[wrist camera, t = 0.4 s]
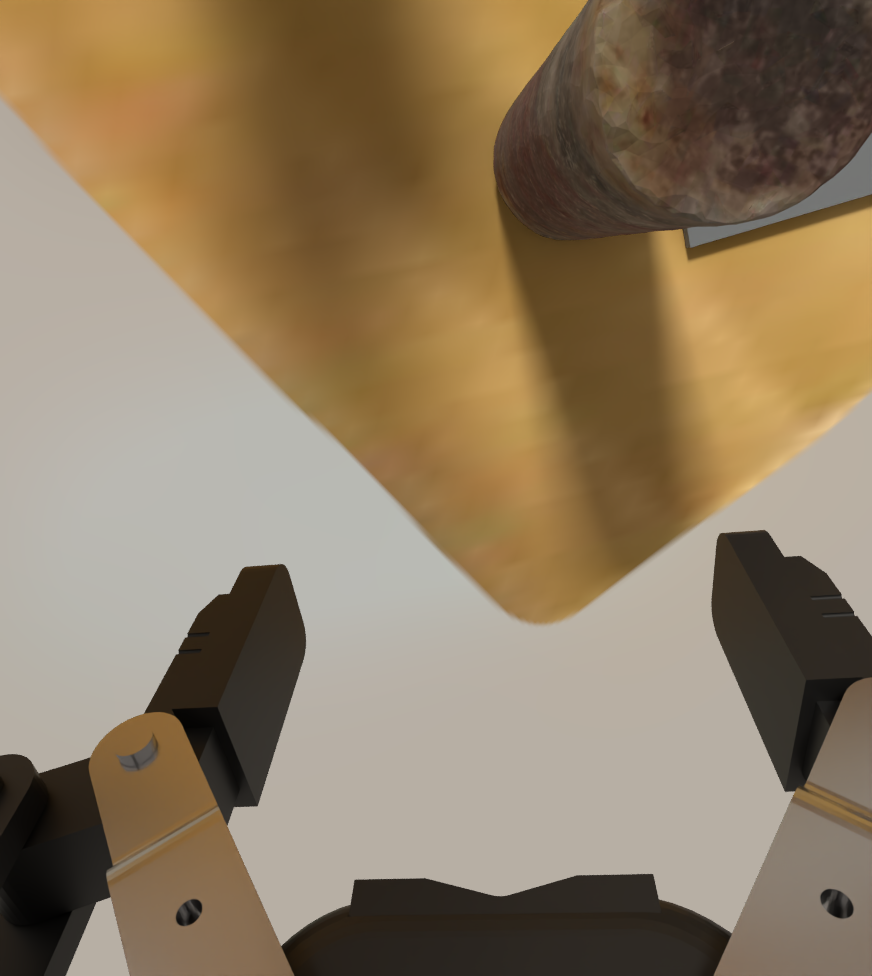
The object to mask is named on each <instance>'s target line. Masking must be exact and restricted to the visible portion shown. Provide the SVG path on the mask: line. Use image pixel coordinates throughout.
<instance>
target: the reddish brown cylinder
mask: <svg viewBox="0 0 872 976" xmlns="http://www.w3.org/2000/svg"><path fill="white" fill-rule="evenodd" d="M871 133H872V0H588V2H587V3H586V5H585V6H584V8H583V9H582V11H581V12H580V13H579V15H578V16H577V17H576V19H575V20H574V21H573V23H572V24H571V25H570V27H569V28H568V29H567V31H566V32H565V33H564V35H563V36H562V38H561V39H560V41H559V42H558V43H557V45H556V46H555V47H554V49H553V50H552V52H551V53H550V55H549V56H548V58H547V59H546V60H545V62H544V63H543V64H542V65H541V67H540V68H539V70H538V71H537V72H536V73H535V75H534V76H533V77H532V78H531V80H530V81H529V82H528V83H527V85H526V86H525V88H524V89H523V90H522V92H521V93H520V95H519V96H518V97H517V99H516V100H515V102H514V103H513V105H512V106H511V108H510V109H509V111H508V112H507V114H506V116H505V118H504V120H503V122H502V124H501V126H500V129H499V131H498V134H497V138H496V141H495V145H494V174H495V178H496V181H497V185H498V189H499V192H500V194H501V196H502V198H503V200H504V202H505V203H506V204H507V206H508V207H509V209H510V210H511V211H512V213H513V214H514V215H515V216H516V217H517V218H518V219H519V220H520V221H521V222H522V223H523V224H524V225H525V226H527V227H528V228H530V229H531V230H532V231H534V232H535V233H537V234H539V235H541V236H543V237H547V238H552V239H555V240H583V239H593V238H602V237H608V236H616V235H628V234H636V233H646V232H651V231H664V230H677V229H684V228H691V227H717V226H725V225H737V224H741V223H745V222H750V221H754V220H759V219H763V218H767V217H771V216H774V215H776V214H778V213H780V212H782V211H784V210H786V209H788V208H790V207H792V206H794V205H796V204H798V203H800V202H801V201H803V200H804V199H806V198H807V197H809V196H810V195H812V194H813V193H814V192H815V191H816V190H818V189H819V188H820V187H821V186H822V185H823V184H825V183H826V182H828V181H829V180H830V179H832V178H833V177H834V176H835V175H837V174H838V173H839V172H840V171H841V170H842V169H843V168H844V167H845V166H846V165H848V163H849V162H850V161H851V160H852V159H853V158H854V157H855V156H856V154H857V153H858V151H859V149H860V148H861V147H862V145H863V144H864V143H865V141H866V140H867V139H868V137H869V136H870V134H871Z"/></svg>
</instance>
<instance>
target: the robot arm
mask: <svg viewBox="0 0 872 976" xmlns="http://www.w3.org/2000/svg"><path fill="white" fill-rule="evenodd" d="M712 617H713V622H714V627H715V631H716V634H717V637H718V639H719V641H720V644H721V646H722V648H723V650H724V653H725V655H726V657H727V660H728V662H729V664H730V666H731V669H732V671H733V673H734V675H735V677H736V680H737V682H738V685H739V687H740V689H741V692H742V694H743V696H744V698H745V701H746V703H747V705H748V708H749V710H750V712H751V714H752V717H753V719H754V722H755V724H756V726H757V729H758V731H759V733H760V735H761V737H762V740H763V742H764V744H765V747H766V749H767V751H768V754H769V756H770V758H771V761H772V763H773V765H774V768H775V770H776V772H777V774H778V777H779V779H780V781H781V784H782V786H783V788H784V791H785V792H788V791H795V793H794V795H793V797H792V799H791V801H790V804H789V806H788V808H787V810H786V813H785V815H784V817H783V820H782V822H781V824H780V826H779V829H778V831H777V833H776V835H775V838H774V840H773V842H772V844H771V847H770V849H769V852H768V854H767V856H766V858H765V861H764V863H763V865H762V867H761V869H760V872H759V874H758V876H757V878H756V881H755V883H754V885H753V887H752V890H751V892H750V895H749V897H748V899H747V901H746V903H745V906H744V908H743V910H742V912H741V915H740V917H739V919H738V921H737V924H736V926H735V928H734V931H733V933H730V932H729V931H727V930H726V929H724V928H723V927H721V926H719V925H718V924H716V923H715V922H713V921H711V920H710V919H708V918H706V917H704V916H702V915H700V914H698V913H696V912H694V911H692V910H689V909H687V908H684V907H681V906H678V905H676V904H673V903H670V902H666V901H662V900H659V899H658V895H657V890H656V885H655V881H654V876H653V874H636V875H635V874H632V875H587V876H586V875H583V876H582V875H579V876H574V877H570V878H567V879H564V880H560V881H556V882H553V883H550V884H546V885H543V886H539V887H536V888H532V889H529V890H525V891H522V892H519V893H515V894H512V895H508V896H492V895H488V894H484V893H480V892H476V891H473V890H469V889H465V888H461V887H456V886H453V885H449V884H445V883H441V882H437V881H433V880H429V879H425V878H424V879H372V880H371V879H369V880H355V881H354V888H353V894H352V899H351V905H349V906H345V907H342V908H339V909H337V910H335V911H333V912H330V913H328V914H326V915H324V916H322V917H320V918H318V919H317V920H315V921H313V922H312V923H310V924H308V925H307V926H306V927H304V928H303V929H301V930H300V931H299V932H297V933H296V934H295V935H293V936H292V937H291V938H290V939H289V940H288V941H287V942H285V943H284V944H283V945H282V946H281V945H280V943H279V941H278V938H277V936H276V934H275V932H274V930H273V927H272V925H271V923H270V921H269V918H268V916H267V914H266V912H265V909H264V907H263V905H262V903H261V901H260V898H259V896H258V894H257V891H256V889H255V887H254V885H253V883H252V880H251V878H250V876H249V874H248V872H247V869H246V867H245V865H244V862H243V860H242V858H241V856H240V854H239V851H238V849H237V847H236V845H235V842H234V840H233V838H232V836H231V834H230V831H229V829H228V827H227V825H228V822H229V819H230V816H231V813H232V810H233V808H234V807H249V806H258V803H259V800H260V796H261V794H262V790H263V787H264V784H265V781H266V777H267V774H268V771H269V768H270V765H271V762H272V758H273V755H274V752H275V749H276V745H277V742H278V739H279V736H280V733H281V730H282V727H283V723H284V720H285V717H286V714H287V711H288V707H289V704H290V701H291V698H292V695H293V691H294V688H295V685H296V682H297V679H298V675H299V672H300V669H301V666H302V663H303V660H304V655H305V649H306V634H305V627H304V623H303V620H302V616H301V613H300V609H299V606H298V602H297V599H296V596H295V592H294V589H293V585H292V582H291V579H290V575H289V572H288V570H287V568H286V566H285V565H283V564H280V565H279V564H278V565H265V566H251V567H244V568H243V569H242V570H241V572H240V574H239V576H238V578H237V580H236V582H235V584H234V586H233V588H232V590H231V592H230V594H223V595H218V596H217V597H216V598H215V599H213V600H212V602H210V603H209V604H208V605H207V606H206V607H205V608H204V609H203V610H202V611H200V612H199V613H198V615H197V617H196V619H195V621H194V623H193V624H192V626H191V628H190V630H189V632H188V637H187V638H185V639H184V641H183V643H182V645H181V647H180V648H179V654H177V655H176V656H175V658H174V659H173V661H172V663H171V665H170V667H169V669H168V671H167V672H166V674H165V676H164V678H163V680H162V682H161V684H160V685H159V687H158V689H157V691H156V693H155V694H154V696H153V698H152V700H151V702H150V704H149V706H148V707H147V709H146V711H145V713H144V714H142V715H139V716H136V717H133V718H131V719H129V720H127V721H125V722H123V723H121V724H120V725H118V726H117V727H115V728H114V729H113V730H112V731H110V732H109V733H108V734H107V735H106V736H105V737H104V738H103V739H102V740H101V741H100V742H99V744H98V745H97V747H96V748H95V750H94V751H93V753H92V755H91V757H90V758H87V759H84V760H81V761H78V762H75V763H72V764H68V765H65V766H62V767H59V768H56V769H52V770H49V771H46V772H43V773H39V774H38V772H37V770H36V769H35V767H34V766H33V764H32V762H31V761H30V760H29V759H28V758H27V757H24V756H22V755H16V754H8V755H2V756H0V976H65V975H66V973H67V971H68V968H69V966H70V964H71V961H72V959H73V956H74V954H75V951H76V949H77V947H78V945H79V942H80V940H81V938H82V935H83V933H84V930H85V928H86V926H87V923H88V921H89V918H90V916H91V914H92V911H93V909H94V906H95V904H96V902H98V901H101V900H104V899H107V898H110V897H111V900H112V904H113V908H114V912H115V916H116V920H117V924H118V928H119V933H120V937H121V941H122V945H123V949H124V953H125V957H126V961H127V966H128V969H129V974H130V976H872V636H871V635H870V633H869V632H868V631H867V629H866V628H865V626H864V625H863V624H862V622H861V621H860V619H859V618H858V617H857V616H854V611H853V610H852V608H851V607H850V605H849V604H848V603H847V601H846V600H845V599H842V597H841V593H840V592H839V590H838V589H837V588H836V586H835V585H834V583H833V582H832V581H831V579H830V578H829V576H828V575H827V573H825V572H824V571H822V570H821V569H819V568H818V567H816V566H815V565H813V564H812V563H810V562H809V561H807V560H806V559H804V558H803V557H801V556H793V557H784V556H783V555H782V553H781V551H780V550H779V548H778V547H777V545H776V544H775V542H774V541H773V539H772V538H771V536H770V535H769V533H768V532H767V531H765V530H759V531H745V532H731V533H721V534H720V535H719V536H718V539H717V546H716V557H715V567H714V580H713V590H712Z"/></svg>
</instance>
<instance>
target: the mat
mask: <svg viewBox="0 0 872 976" xmlns="http://www.w3.org/2000/svg"><path fill="white" fill-rule="evenodd" d="M871 194H872V133H871V134H870V136H869V137H868V139H867V140H866V141H865V143H864V144H863V145H862V147H861V148H860V149H859V151H858V153H857V154H856V156H855V157H854V158H853V159H852V160H851V161H850V162H849V163H848V165H846V166H845V167H844V168H843V169H842V170H841V171H840V172H839V173H838V174H837V175H835V176H834V177H833V178H832V179H830V180H829V181H828V182H826V183H825V184H823V185H822V186H821V187H820V188H819V189H818V190H816V191H815V192H814V193H813V194H812V195H810V196H809V197H807V198H806V199H804V200H803V201H801V202H800V203H798V204H796V205H794V206H792V207H790V208H788V209H786V210H784V211H782V212H780V213H778V214H776V215H774V216H771V217H767V218H763V219H759V220H754V221H750V222H745V223H741V224H737V225H725V226H717V227H691V228H684V229H683V231H684V238H685V244H686V248H691V247H694V246H698V245H701V244H705V243H708V242H711V241H715V240H718V239H722V238H725V237H728V236H732V235H735V234H739V233H742V232H745V231H749V230H752V229H755V228H759V227H762V226H766V225H769V224H772V223H776V222H779V221H783V220H786V219H789V218H793V217H796V216H800V215H803V214H806V213H810V212H813V211H816V210H820V209H823V208H827V207H830V206H833V205H837V204H840V203H844V202H847V201H850V200H854V199H857V198H861V197H864V196H867V195H871Z"/></svg>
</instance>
